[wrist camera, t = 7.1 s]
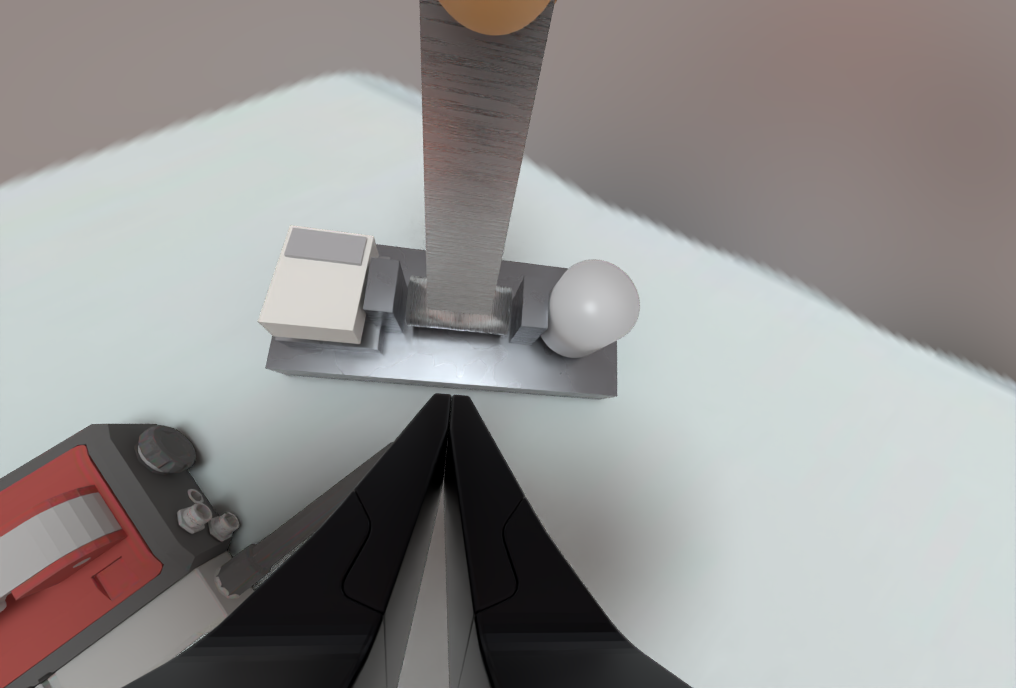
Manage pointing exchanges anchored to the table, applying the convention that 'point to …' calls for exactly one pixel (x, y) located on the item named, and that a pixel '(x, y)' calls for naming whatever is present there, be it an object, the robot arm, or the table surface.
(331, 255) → the white block
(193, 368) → the table surface
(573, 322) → the push button
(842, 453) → the table surface
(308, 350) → the slide switch base
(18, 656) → the walkie-talkie
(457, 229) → the ball-topped post
